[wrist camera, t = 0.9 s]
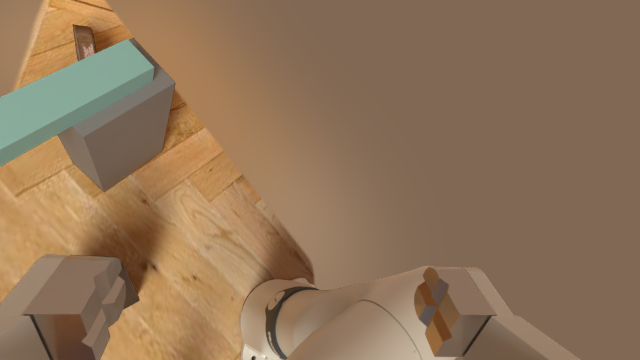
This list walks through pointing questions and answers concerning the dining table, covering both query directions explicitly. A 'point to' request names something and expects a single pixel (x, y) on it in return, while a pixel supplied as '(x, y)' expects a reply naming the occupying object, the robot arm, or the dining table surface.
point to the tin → (84, 41)
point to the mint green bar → (69, 97)
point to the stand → (122, 131)
